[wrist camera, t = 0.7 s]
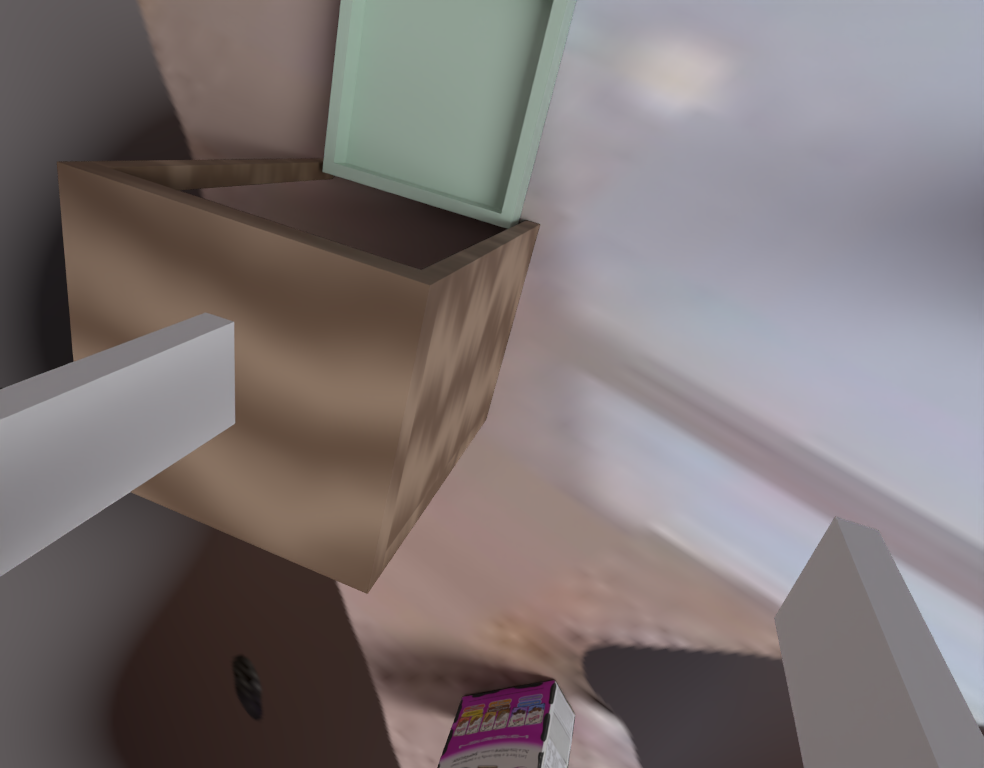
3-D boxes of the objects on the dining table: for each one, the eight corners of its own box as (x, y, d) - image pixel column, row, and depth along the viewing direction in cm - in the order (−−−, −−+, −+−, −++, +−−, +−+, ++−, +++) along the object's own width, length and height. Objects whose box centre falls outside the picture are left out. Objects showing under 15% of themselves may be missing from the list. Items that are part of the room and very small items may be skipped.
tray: (375, -127, 34) (355, -147, 32) (597, -80, 32) (592, -98, 30) (339, 170, 42) (321, 171, 40) (518, 225, 40) (509, 229, 38)
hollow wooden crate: (322, 158, 42) (56, 161, 24) (540, 224, 39) (429, 285, 21) (301, 352, 49) (83, 471, 30) (485, 419, 46) (367, 594, 28)
